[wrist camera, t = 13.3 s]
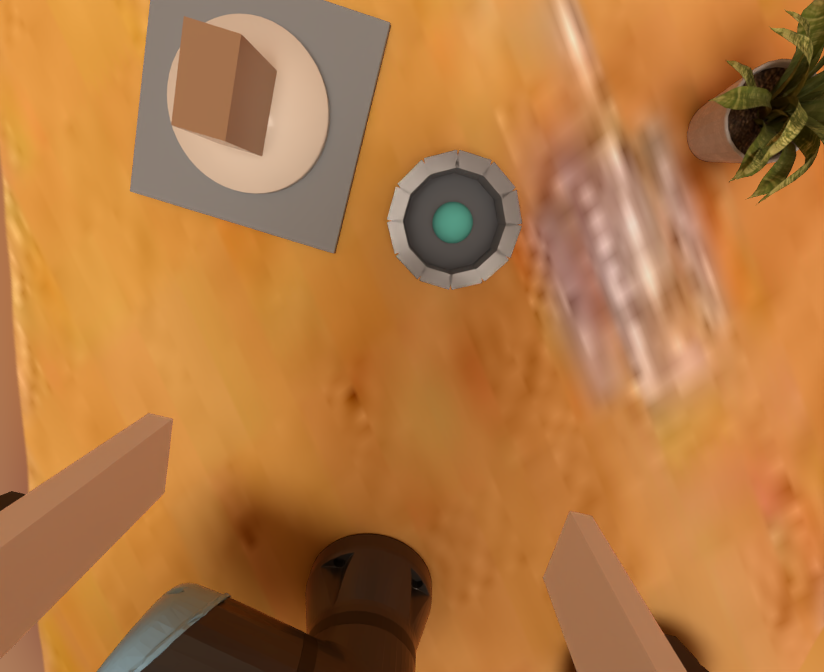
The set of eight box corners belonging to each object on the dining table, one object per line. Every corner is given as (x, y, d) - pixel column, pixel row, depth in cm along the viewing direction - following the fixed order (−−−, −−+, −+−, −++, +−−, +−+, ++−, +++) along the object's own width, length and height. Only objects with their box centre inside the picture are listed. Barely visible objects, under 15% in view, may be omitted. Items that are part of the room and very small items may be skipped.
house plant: (613, 61, 35) (764, -70, 20) (782, -3, 34) (1093, -200, 18) (644, 223, 39) (793, 224, 23) (798, 173, 37) (1071, 136, 21)
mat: (334, 252, 40) (333, 253, 40) (134, 191, 40) (130, 191, 39) (390, 26, 35) (390, 22, 35) (160, -52, 34) (156, -56, 34)
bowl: (485, 293, 41) (493, 303, 36) (380, 261, 41) (374, 266, 36) (525, 181, 38) (539, 175, 33) (412, 145, 38) (410, 133, 33)
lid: (311, 212, 39) (282, 209, 31) (166, 169, 38) (98, 155, 30) (346, 48, 35) (323, -2, 27) (186, -2, 35) (115, -69, 27)
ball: (463, 247, 39) (467, 249, 35) (427, 236, 39) (427, 237, 35) (475, 209, 38) (480, 207, 34) (438, 197, 38) (440, 194, 34)
